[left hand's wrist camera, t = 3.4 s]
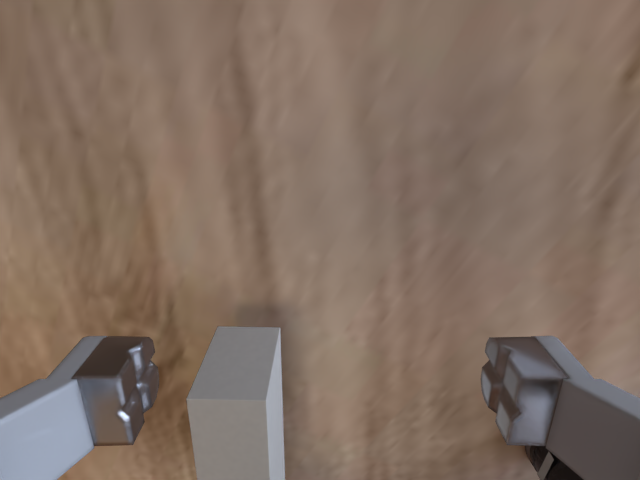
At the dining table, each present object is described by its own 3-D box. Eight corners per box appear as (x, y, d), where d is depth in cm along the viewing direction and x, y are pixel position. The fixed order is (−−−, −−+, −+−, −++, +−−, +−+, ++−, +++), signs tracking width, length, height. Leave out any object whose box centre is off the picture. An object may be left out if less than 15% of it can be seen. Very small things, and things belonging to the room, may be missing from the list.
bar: (217, 326, 38) (185, 399, 30) (280, 327, 38) (266, 400, 30) (235, 510, 47) (214, 606, 38) (286, 511, 47) (276, 608, 38)
